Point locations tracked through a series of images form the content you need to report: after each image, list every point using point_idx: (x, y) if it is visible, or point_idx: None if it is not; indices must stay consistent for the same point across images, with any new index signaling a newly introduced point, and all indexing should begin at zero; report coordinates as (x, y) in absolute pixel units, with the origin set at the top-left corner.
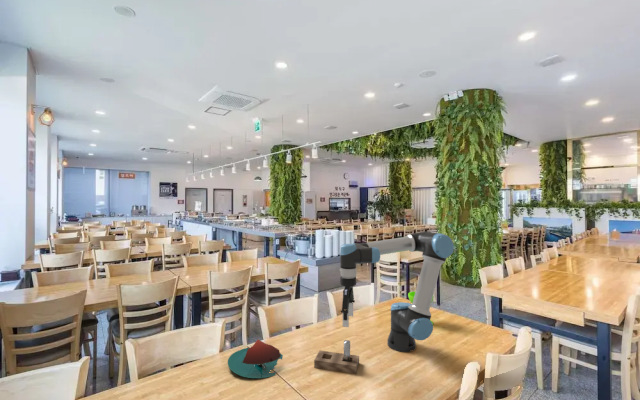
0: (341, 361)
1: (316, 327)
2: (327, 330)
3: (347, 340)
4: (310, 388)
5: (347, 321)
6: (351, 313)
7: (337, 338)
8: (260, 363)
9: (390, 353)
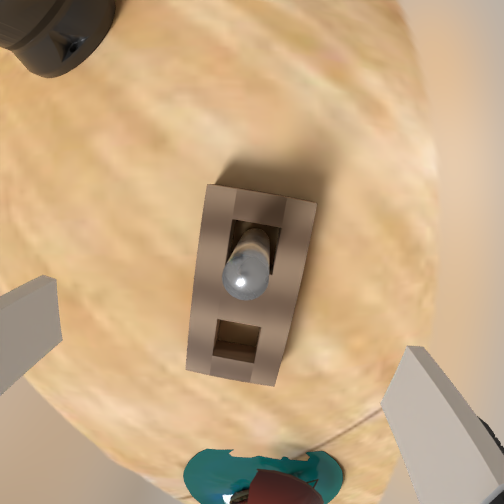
0: (277, 276)
1: None
2: None
3: (225, 274)
4: None
5: (450, 398)
6: (34, 311)
7: None
8: (318, 494)
9: (122, 55)
